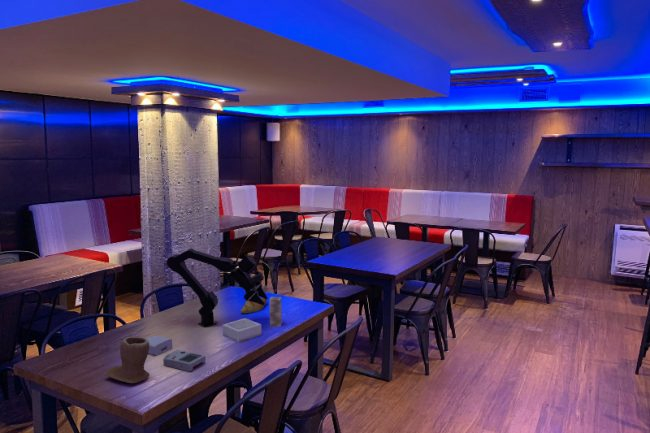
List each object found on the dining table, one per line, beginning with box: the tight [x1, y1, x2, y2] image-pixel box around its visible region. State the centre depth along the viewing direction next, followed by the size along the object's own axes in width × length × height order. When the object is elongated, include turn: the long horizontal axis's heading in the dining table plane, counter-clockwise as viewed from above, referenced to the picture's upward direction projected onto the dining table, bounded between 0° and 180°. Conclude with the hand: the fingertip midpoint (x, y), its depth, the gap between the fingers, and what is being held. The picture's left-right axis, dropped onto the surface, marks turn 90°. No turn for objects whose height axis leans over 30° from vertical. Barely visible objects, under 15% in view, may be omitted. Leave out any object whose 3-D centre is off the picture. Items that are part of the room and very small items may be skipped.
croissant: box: [240, 297, 268, 314], centre depth 266 cm, size 21×10×8 cm, turn 152°
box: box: [222, 317, 262, 343], centre depth 228 cm, size 12×12×5 cm
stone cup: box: [104, 336, 150, 384], centre depth 186 cm, size 15×12×15 cm
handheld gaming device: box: [162, 349, 206, 372], centre depth 198 cm, size 9×15×4 cm, turn 63°
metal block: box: [268, 296, 283, 328], centre depth 241 cm, size 5×5×13 cm
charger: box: [146, 335, 173, 356], centre depth 214 cm, size 5×9×15 cm
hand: (265, 301), depth 241 cm, fingers open, 9 cm apart
